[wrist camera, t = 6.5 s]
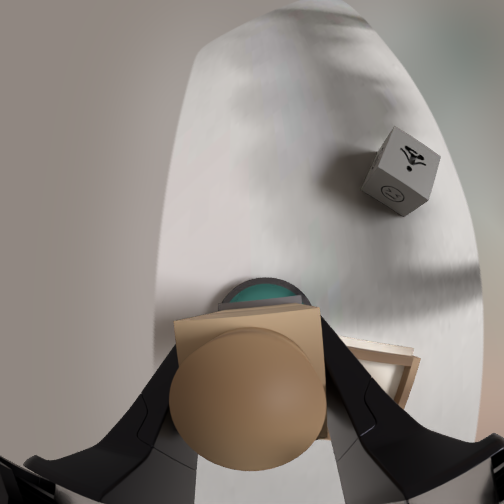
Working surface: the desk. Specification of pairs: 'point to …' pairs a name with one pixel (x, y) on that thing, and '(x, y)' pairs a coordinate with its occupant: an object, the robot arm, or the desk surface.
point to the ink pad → (264, 291)
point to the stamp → (251, 383)
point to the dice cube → (402, 173)
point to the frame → (386, 367)
